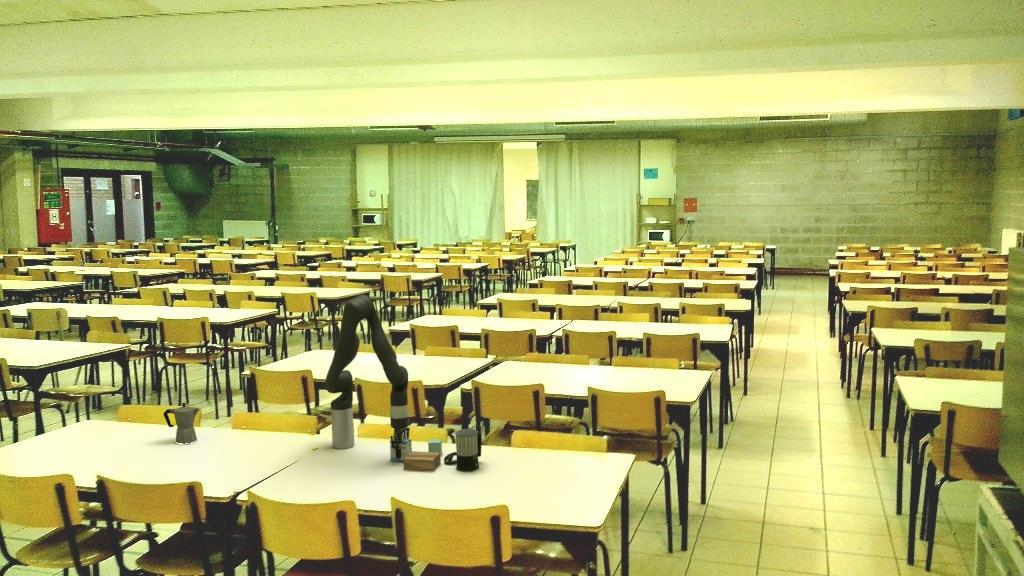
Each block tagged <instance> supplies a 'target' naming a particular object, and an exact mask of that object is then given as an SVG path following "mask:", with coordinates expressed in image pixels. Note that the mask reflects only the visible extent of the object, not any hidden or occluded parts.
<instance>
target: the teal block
mask: <svg viewBox="0 0 1024 576" xmlns="http://www.w3.org/2000/svg"><path fill="white" fill-rule="evenodd" d="M427 445H428V451H427V452H437V453H440V458H441V457H442V454H443V441H442V439H441V438H438V439H437V438H436V439H435V438H433V439H432V438H431V439H430V438H429V440H428V442H427Z"/></svg>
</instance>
